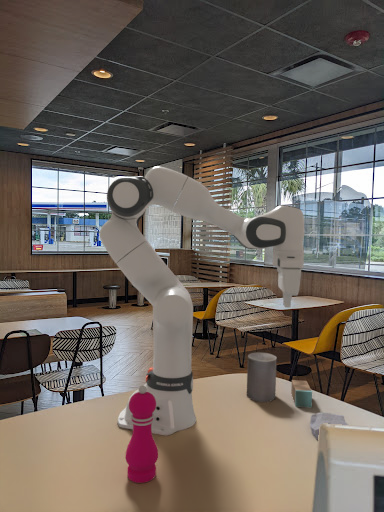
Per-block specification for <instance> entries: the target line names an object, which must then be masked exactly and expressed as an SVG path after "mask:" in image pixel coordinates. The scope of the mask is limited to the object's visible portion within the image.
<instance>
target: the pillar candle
mask: <svg viewBox="0 0 384 512" xmlns="http://www.w3.org/2000/svg"><path fill="white" fill-rule="evenodd" d="M246 369H247V371H246V372H247V373H246V375H247V376H246V397H247V398H248V399H250V400H252V401H255V402H260V403H262V402H263V403H265V402H266V403H267V402H272V401H273V400H274V399H276V395H277V394H276V391H277V390H276V387H277V380H276V379H277V356H276V355H274V354H271V353H268V352H261V351H260V352H252V353H251V352H250V353H249V354H248V355H247V368H246Z"/></svg>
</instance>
